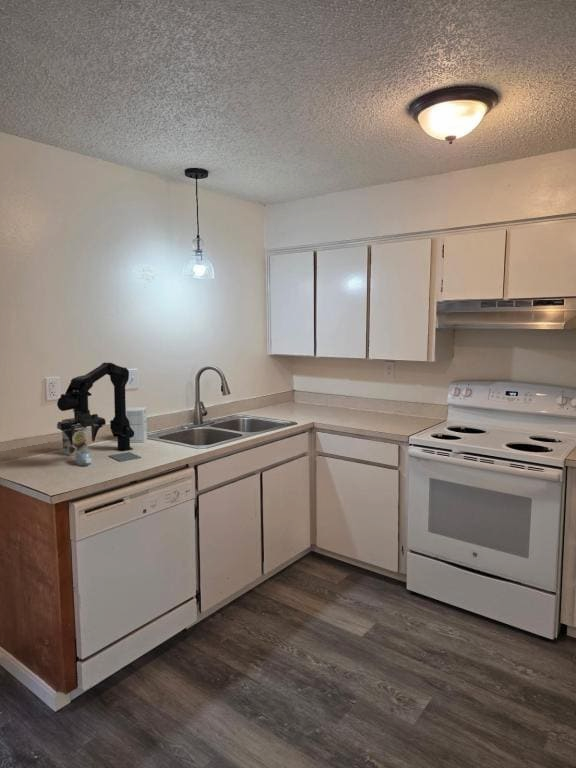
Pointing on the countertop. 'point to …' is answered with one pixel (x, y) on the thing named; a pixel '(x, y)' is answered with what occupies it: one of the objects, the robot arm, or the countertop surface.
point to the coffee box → (75, 439)
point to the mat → (124, 456)
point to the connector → (83, 457)
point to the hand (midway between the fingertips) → (82, 443)
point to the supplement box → (137, 423)
